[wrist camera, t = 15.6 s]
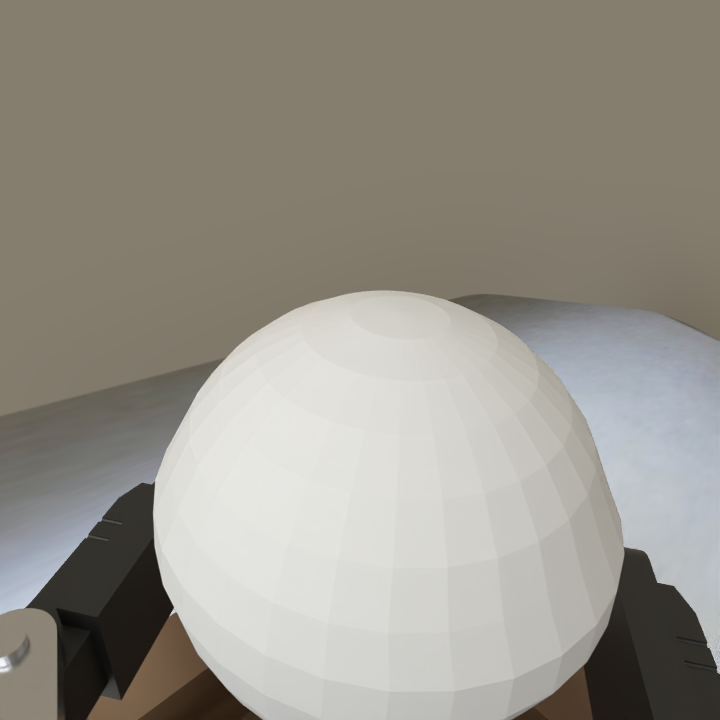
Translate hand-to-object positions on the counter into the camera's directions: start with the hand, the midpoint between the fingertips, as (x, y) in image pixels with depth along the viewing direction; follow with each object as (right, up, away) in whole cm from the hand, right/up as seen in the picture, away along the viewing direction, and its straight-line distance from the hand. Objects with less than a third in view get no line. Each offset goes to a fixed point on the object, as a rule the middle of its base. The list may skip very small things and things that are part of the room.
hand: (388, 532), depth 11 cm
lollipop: (-1, -9, +3) cm, 9 cm away
